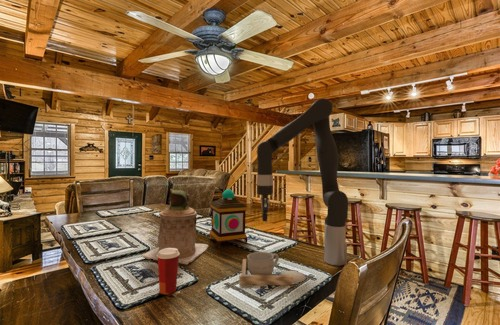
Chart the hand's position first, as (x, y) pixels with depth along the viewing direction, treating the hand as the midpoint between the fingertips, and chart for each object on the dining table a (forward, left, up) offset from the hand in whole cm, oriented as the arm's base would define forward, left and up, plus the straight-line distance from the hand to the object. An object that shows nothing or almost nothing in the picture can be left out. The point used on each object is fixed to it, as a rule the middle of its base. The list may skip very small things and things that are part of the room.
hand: (264, 220), depth 119 cm
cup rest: (+1, +16, -18) cm, 24 cm away
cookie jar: (+43, -6, -18) cm, 47 cm away
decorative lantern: (+20, -26, -18) cm, 37 cm away
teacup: (+1, +16, -18) cm, 24 cm away
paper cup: (+36, +30, -18) cm, 50 cm away
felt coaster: (-10, +18, -18) cm, 28 cm away
